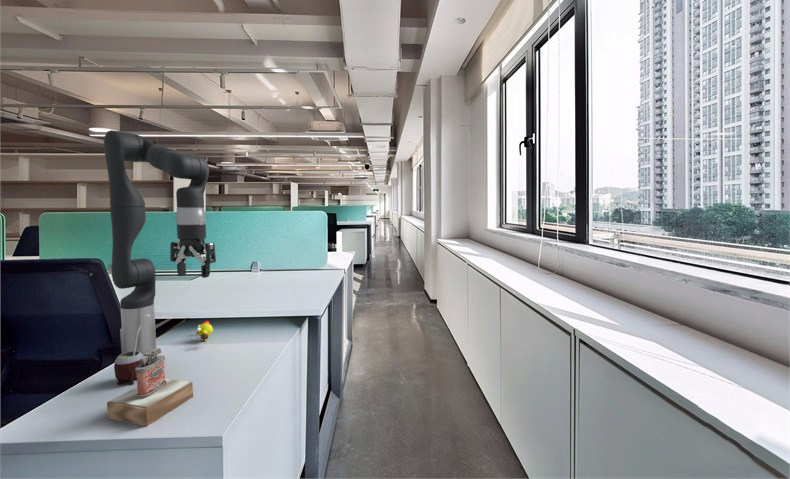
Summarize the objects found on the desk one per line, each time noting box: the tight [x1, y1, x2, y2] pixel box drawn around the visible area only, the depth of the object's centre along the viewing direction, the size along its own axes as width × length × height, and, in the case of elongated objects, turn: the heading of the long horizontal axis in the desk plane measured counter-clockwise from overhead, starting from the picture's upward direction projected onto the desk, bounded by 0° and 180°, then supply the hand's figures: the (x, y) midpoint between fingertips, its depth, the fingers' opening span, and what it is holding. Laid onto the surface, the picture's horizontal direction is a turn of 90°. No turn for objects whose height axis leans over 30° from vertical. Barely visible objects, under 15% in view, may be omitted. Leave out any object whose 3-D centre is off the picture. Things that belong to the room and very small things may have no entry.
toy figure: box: [196, 320, 214, 342], centre depth 131 cm, size 18×6×7 cm, turn 27°
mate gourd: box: [113, 325, 143, 386], centre depth 100 cm, size 8×8×15 cm
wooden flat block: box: [106, 377, 194, 427], centre depth 87 cm, size 12×13×4 cm
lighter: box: [135, 347, 166, 399], centre depth 87 cm, size 8×3×10 cm, turn 177°
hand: (193, 276), depth 104 cm, fingers open, 8 cm apart
